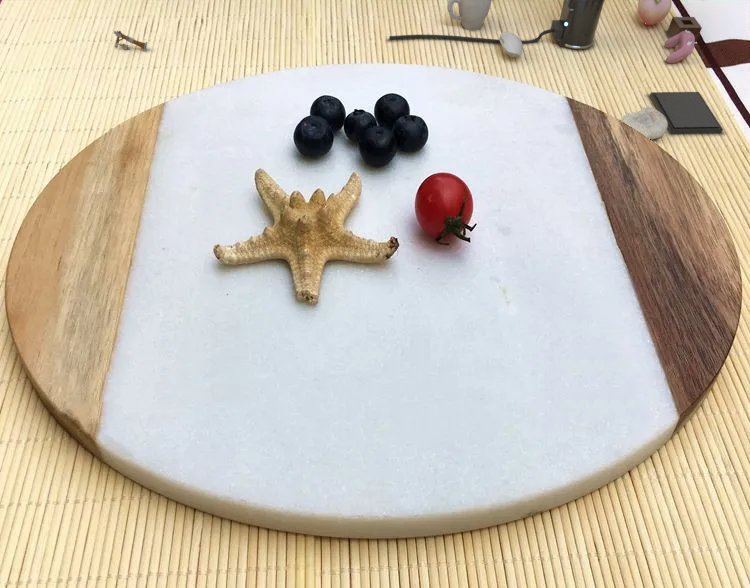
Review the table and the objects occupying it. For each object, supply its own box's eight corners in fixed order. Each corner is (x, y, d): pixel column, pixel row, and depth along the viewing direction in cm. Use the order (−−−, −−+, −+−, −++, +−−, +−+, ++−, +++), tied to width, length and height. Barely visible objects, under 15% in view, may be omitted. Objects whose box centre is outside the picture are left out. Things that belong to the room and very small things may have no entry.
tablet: (670, 134, 154) (672, 129, 153) (649, 96, 164) (651, 91, 163) (721, 133, 155) (723, 128, 154) (697, 95, 164) (699, 90, 164)
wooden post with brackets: (112, 43, 171) (115, 27, 168) (144, 56, 174) (147, 41, 171) (110, 46, 170) (113, 30, 167) (142, 60, 173) (145, 44, 170)
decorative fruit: (667, 33, 183) (681, -5, 175) (637, 32, 183) (650, -6, 175) (658, 17, 189) (672, -21, 181) (630, 16, 189) (642, -22, 181)
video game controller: (677, 71, 174) (700, 49, 169) (664, 61, 173) (686, 38, 168) (675, 52, 180) (696, 30, 175) (662, 43, 179) (683, 20, 174)
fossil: (636, 95, 156) (676, 113, 154) (629, 109, 159) (668, 127, 157) (620, 117, 150) (662, 136, 148) (613, 131, 153) (654, 150, 151)
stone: (492, 47, 177) (496, 28, 173) (511, 45, 178) (515, 25, 174) (506, 66, 171) (510, 46, 167) (526, 63, 172) (530, 44, 168)
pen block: (674, 42, 180) (680, 27, 177) (667, 31, 184) (672, 16, 181) (696, 42, 181) (702, 27, 177) (688, 31, 184) (694, 16, 181)
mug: (480, 16, 187) (486, -22, 179) (492, 31, 182) (498, -7, 174) (440, 20, 185) (443, -17, 177) (451, 36, 180) (455, -2, 172)
